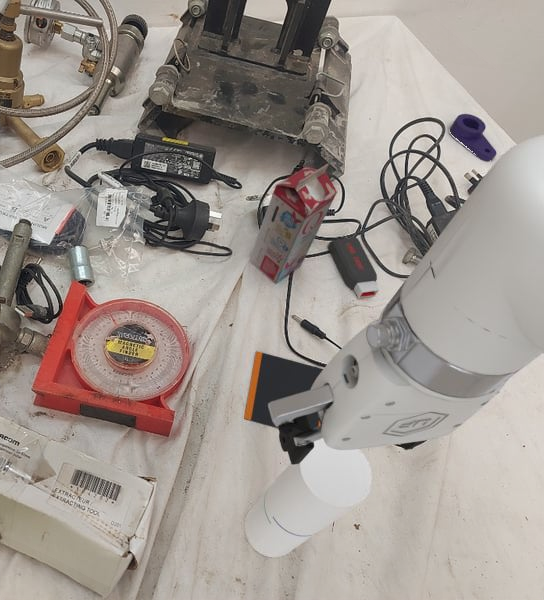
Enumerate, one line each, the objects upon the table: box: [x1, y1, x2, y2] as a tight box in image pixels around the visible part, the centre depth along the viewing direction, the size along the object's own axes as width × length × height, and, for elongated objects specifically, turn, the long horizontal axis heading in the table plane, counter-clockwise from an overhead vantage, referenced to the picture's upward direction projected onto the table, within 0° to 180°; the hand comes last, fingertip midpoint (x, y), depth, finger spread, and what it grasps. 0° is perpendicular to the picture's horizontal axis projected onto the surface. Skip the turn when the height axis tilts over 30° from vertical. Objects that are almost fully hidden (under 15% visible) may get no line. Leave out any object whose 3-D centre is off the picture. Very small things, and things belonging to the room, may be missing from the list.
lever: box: [449, 113, 497, 162], centre depth 126 cm, size 12×6×3 cm, turn 22°
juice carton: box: [248, 163, 338, 285], centre depth 94 cm, size 7×7×22 cm
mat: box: [243, 350, 324, 429], centre depth 89 cm, size 12×12×1 cm
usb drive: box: [327, 236, 380, 299], centre depth 103 cm, size 5×12×3 cm, turn 11°
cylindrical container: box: [243, 438, 373, 559], centre depth 67 cm, size 7×7×25 cm
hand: (345, 439), depth 48 cm, fingers open, 9 cm apart
